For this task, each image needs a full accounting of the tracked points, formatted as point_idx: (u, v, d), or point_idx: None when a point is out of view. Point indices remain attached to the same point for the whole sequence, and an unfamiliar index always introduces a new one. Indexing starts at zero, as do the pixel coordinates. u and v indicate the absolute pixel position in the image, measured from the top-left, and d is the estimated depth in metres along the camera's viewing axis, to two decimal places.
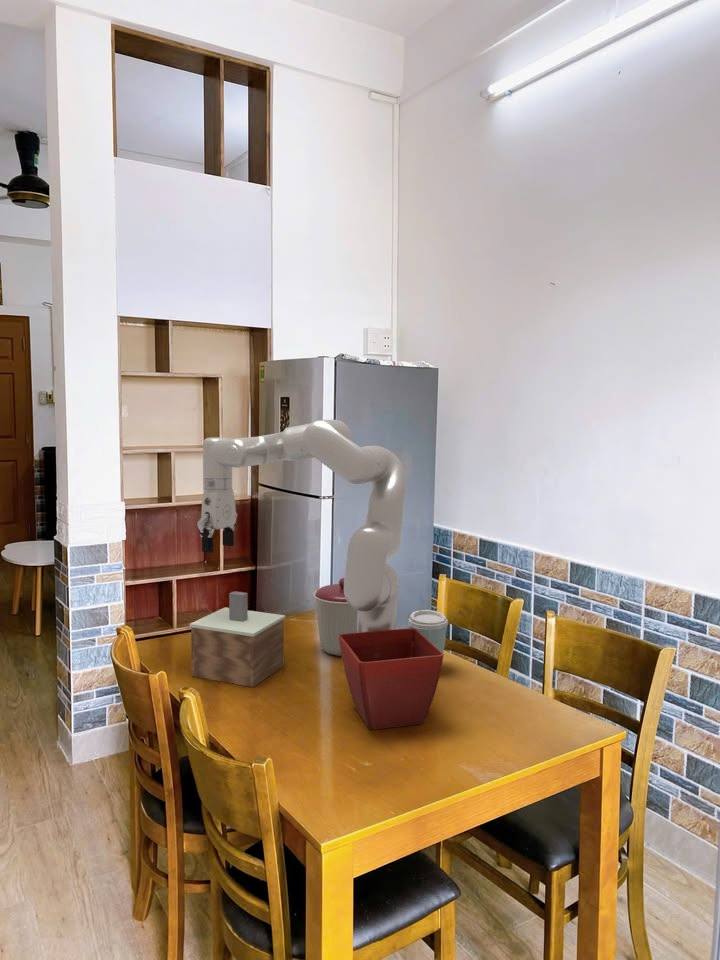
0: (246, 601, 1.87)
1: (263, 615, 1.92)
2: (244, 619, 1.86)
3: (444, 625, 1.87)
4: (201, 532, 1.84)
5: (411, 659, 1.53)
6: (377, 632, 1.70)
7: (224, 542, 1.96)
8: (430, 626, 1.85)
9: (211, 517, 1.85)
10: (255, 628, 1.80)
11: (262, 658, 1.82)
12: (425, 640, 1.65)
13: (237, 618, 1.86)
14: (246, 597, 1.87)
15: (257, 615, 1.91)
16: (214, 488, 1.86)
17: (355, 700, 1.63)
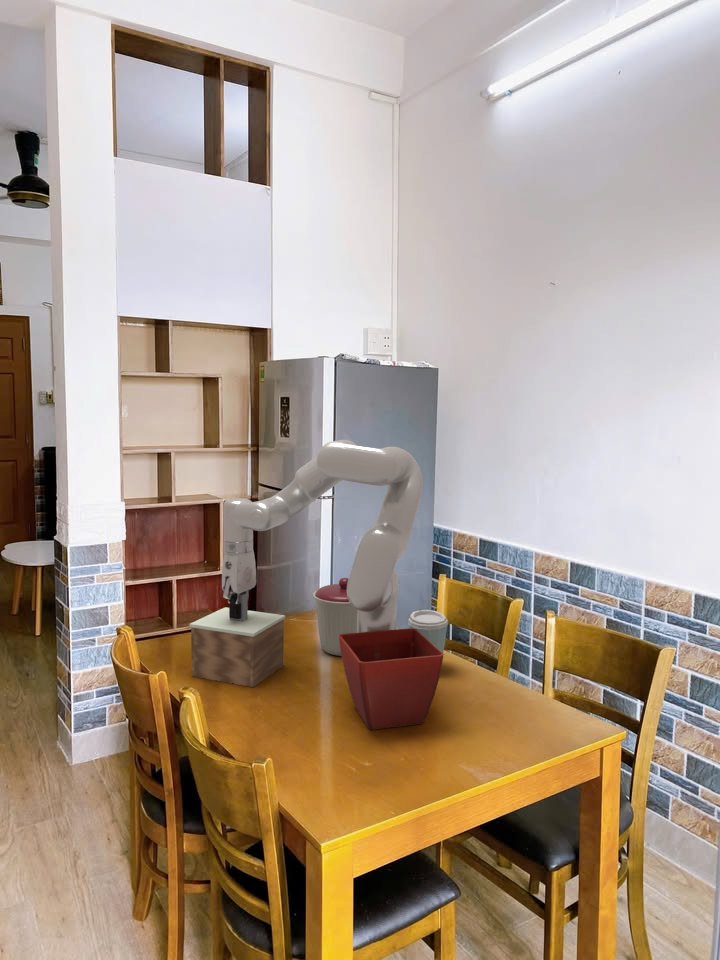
0: (246, 601, 1.87)
1: (263, 615, 1.92)
2: (244, 619, 1.86)
3: (444, 625, 1.87)
4: (229, 599, 1.83)
5: (411, 659, 1.53)
6: (377, 632, 1.70)
7: None
8: (430, 626, 1.85)
9: (232, 581, 1.81)
10: (255, 628, 1.80)
11: (262, 658, 1.82)
12: (425, 640, 1.65)
13: None
14: (246, 597, 1.87)
15: (257, 615, 1.91)
16: (235, 551, 1.82)
17: (355, 700, 1.63)
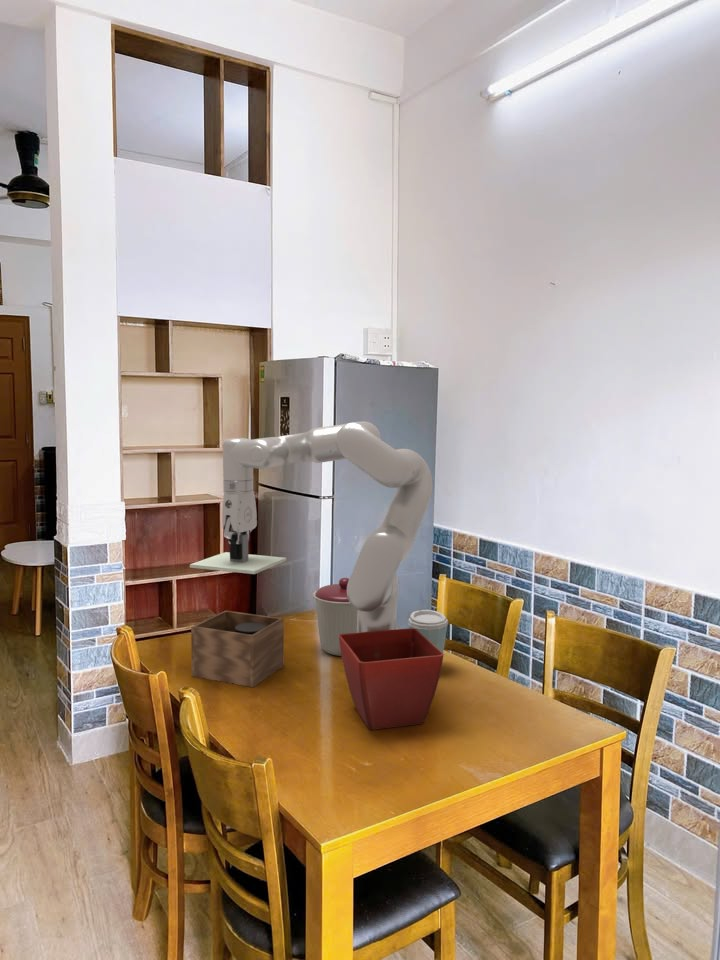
0: (247, 542, 1.85)
1: (264, 557, 1.90)
2: (245, 560, 1.85)
3: (444, 625, 1.87)
4: (229, 539, 1.82)
5: (411, 659, 1.53)
6: (377, 632, 1.70)
7: None
8: (430, 626, 1.85)
9: (232, 520, 1.80)
10: (255, 567, 1.79)
11: (262, 658, 1.82)
12: (425, 640, 1.65)
13: None
14: (247, 538, 1.85)
15: (258, 558, 1.90)
16: (235, 490, 1.80)
17: (355, 700, 1.63)
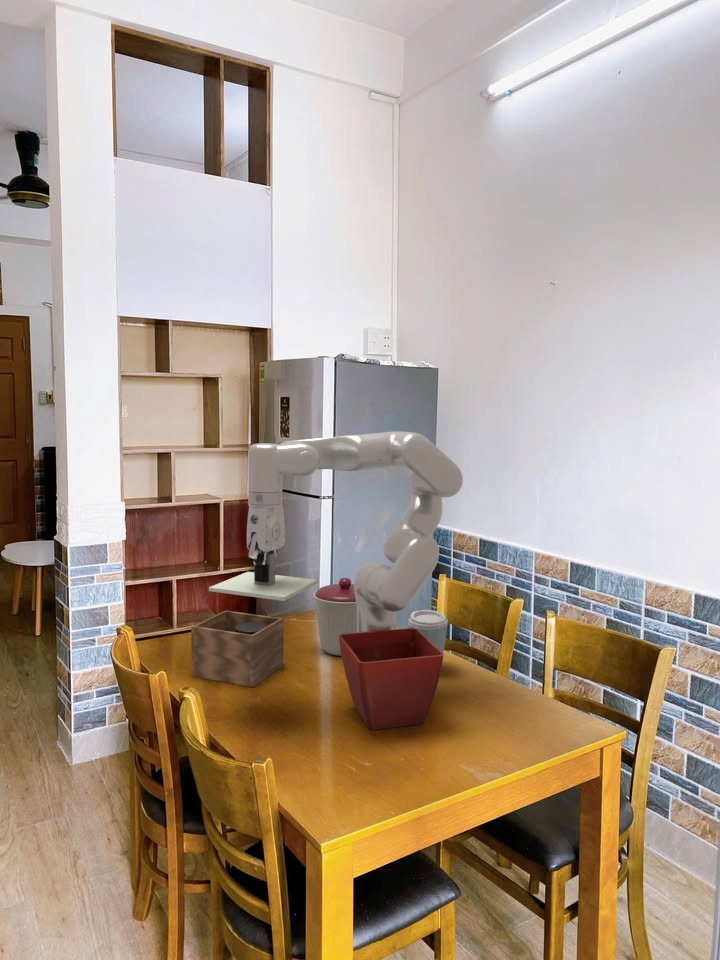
0: (274, 562, 1.62)
1: (292, 579, 1.67)
2: (271, 583, 1.62)
3: (444, 625, 1.87)
4: (255, 559, 1.58)
5: (411, 659, 1.53)
6: (377, 632, 1.70)
7: None
8: (430, 626, 1.85)
9: (259, 538, 1.56)
10: (285, 592, 1.55)
11: (262, 658, 1.82)
12: (425, 640, 1.65)
13: None
14: (274, 557, 1.62)
15: (286, 579, 1.66)
16: (262, 503, 1.57)
17: (355, 700, 1.63)
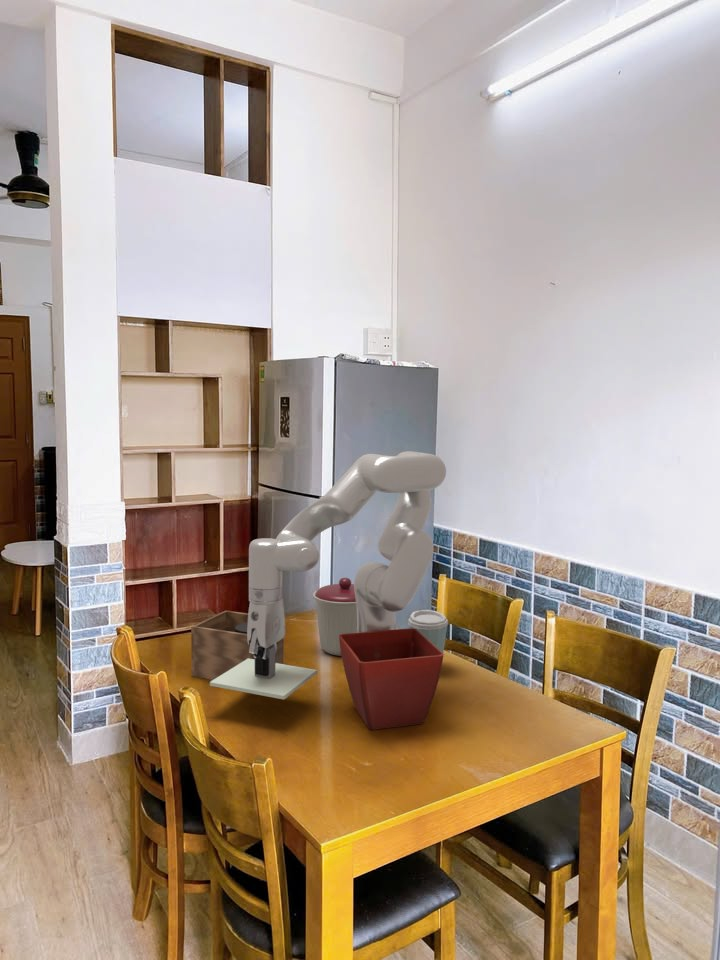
0: (274, 655, 1.64)
1: (292, 669, 1.69)
2: (271, 676, 1.64)
3: (444, 625, 1.87)
4: (255, 654, 1.61)
5: (411, 659, 1.53)
6: (377, 632, 1.70)
7: None
8: (430, 626, 1.85)
9: (259, 634, 1.59)
10: (285, 688, 1.58)
11: None
12: (425, 640, 1.65)
13: None
14: (274, 650, 1.64)
15: (286, 670, 1.69)
16: (262, 600, 1.59)
17: (355, 700, 1.63)
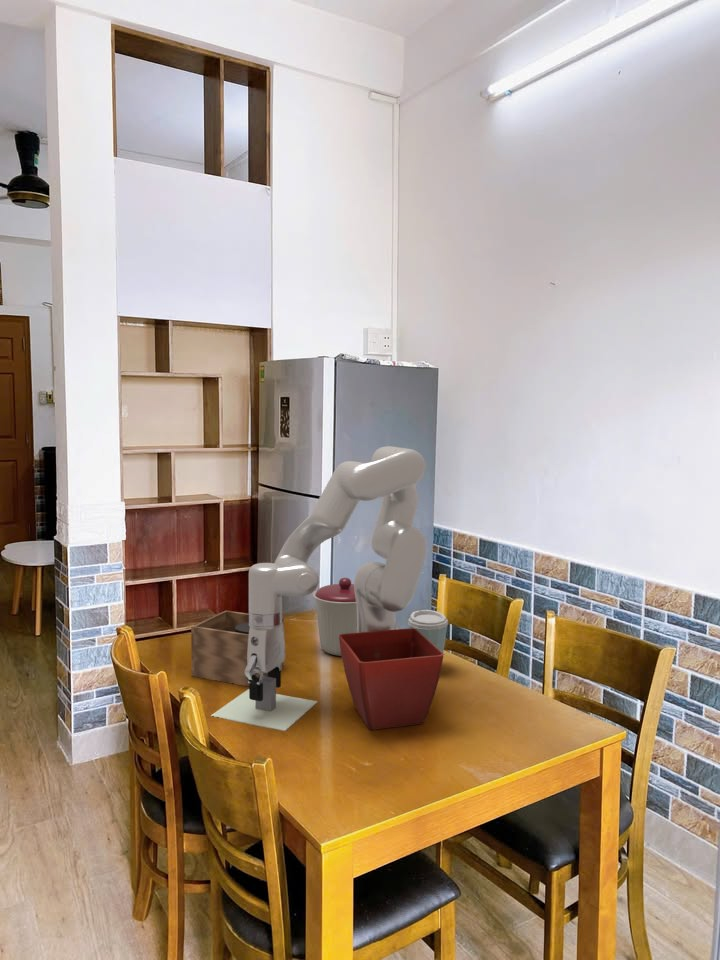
0: (274, 688, 1.65)
1: (293, 701, 1.70)
2: (272, 708, 1.65)
3: (444, 625, 1.87)
4: (249, 679, 1.59)
5: (411, 659, 1.53)
6: (377, 632, 1.70)
7: None
8: (430, 626, 1.85)
9: (259, 660, 1.59)
10: (285, 722, 1.59)
11: None
12: (425, 640, 1.65)
13: (264, 707, 1.65)
14: (274, 683, 1.65)
15: (286, 701, 1.70)
16: (262, 625, 1.60)
17: (355, 700, 1.63)
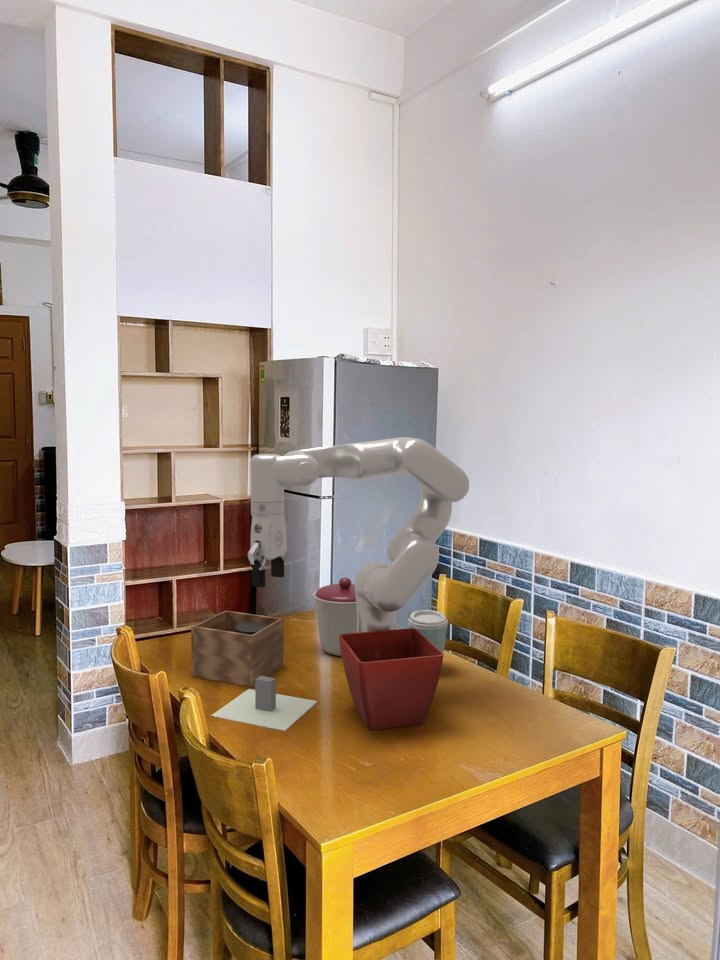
0: (274, 688, 1.65)
1: (293, 701, 1.70)
2: (272, 708, 1.65)
3: (444, 625, 1.87)
4: (252, 564, 1.59)
5: (411, 659, 1.53)
6: (377, 632, 1.70)
7: (273, 573, 1.71)
8: (430, 626, 1.85)
9: (262, 546, 1.61)
10: (285, 722, 1.59)
11: (262, 658, 1.82)
12: (425, 640, 1.65)
13: (264, 707, 1.65)
14: (274, 683, 1.65)
15: (286, 701, 1.70)
16: (265, 513, 1.61)
17: (355, 700, 1.63)
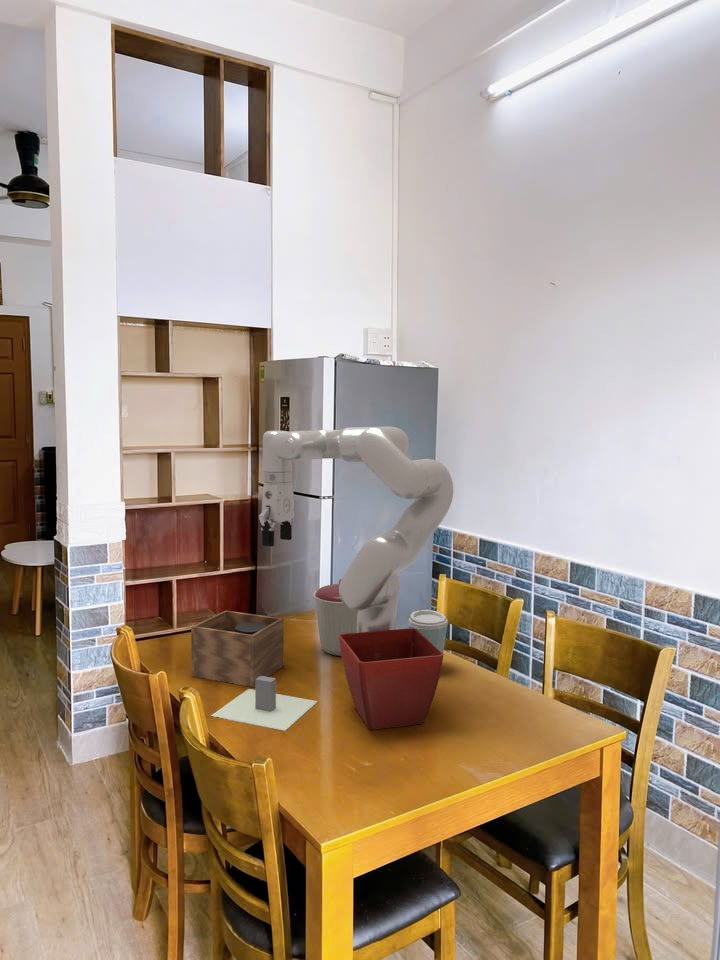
0: (274, 688, 1.65)
1: (293, 701, 1.70)
2: (272, 708, 1.65)
3: (444, 625, 1.87)
4: (262, 525, 1.83)
5: (411, 659, 1.53)
6: (377, 632, 1.70)
7: (282, 536, 1.95)
8: (430, 626, 1.85)
9: (272, 510, 1.84)
10: (285, 722, 1.59)
11: (262, 658, 1.82)
12: (425, 640, 1.65)
13: (264, 707, 1.65)
14: (274, 683, 1.65)
15: (286, 701, 1.70)
16: (275, 481, 1.85)
17: (355, 700, 1.63)
